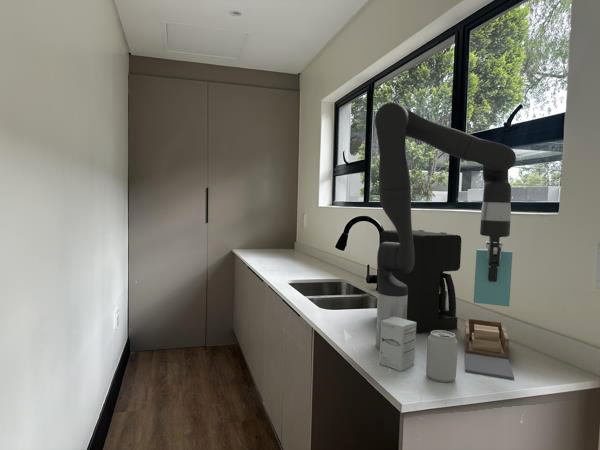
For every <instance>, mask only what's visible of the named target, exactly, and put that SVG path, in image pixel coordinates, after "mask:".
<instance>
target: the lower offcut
mask: <svg viewBox="0 0 600 450" xmlns="http://www.w3.org/2000/svg"><path fill="white" fill-rule="evenodd" d="M500 348H501V342H500V338H499V342H493V341H486V340H479V339H474V333H472V349H478V350H485V351H492V352H499V353H500Z"/></svg>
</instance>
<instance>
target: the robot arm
mask: <svg viewBox="0 0 600 450" xmlns="http://www.w3.org/2000/svg"><path fill="white" fill-rule="evenodd" d="M374 125H375V130H376V136H377V142H378V143H377V145H378V151H379V152H378V153H379V161H378V164H379V165H378V166H379V167H378V192H379V204H380V206H381V208H382V209H383V212H384V213H385V214H386V216H387V217H388V219H389V220H390V222H391V223H392V225H393V226H394V228H395V230H397V233H398V236H399V241H400V243H394V242H383V243H381V242H380V245H379V247H378V250H377V257H376V261H377V262H376V263H377V264H376V265H377V267H376V268H377V270H376V271H377V275H376V276H377V278H376V279H377V282H376V284H377V302H376V303H377V306H376V307H377V308H376V330H375V331H376V332H375V334H376V335H375V347H376V348H377V349H378V350H379V351H380V337H381V321H382V320H385V319H388V318H391V317H398V318H402V319H406V320H407V300H408V286H407V285H406V284H404V283H402V282H401V281H399V280H397V279H396V278H395V277H394V276H393V275H392V272H398V273H410V272H411V271H412V270H413V267H414V262H415V253H414V243H413V234H412V230H413V228H412V227H413V226H412V225H413V224H412V185H411V176H410V170H409V169H410V168H409V165H408V160H407V159H408V158H407V155H406V152H407V151H406V141H407V140H406V138H407V137H408V138H412V139H415V140H418V141H420V142H423V143H425V144H427V145H429V146H430V147H433V148H435V149H436V150H438V151H441V152H443V153H445V154H447V155H449V156H452V157H455V158H458V159H460V160H462V161H466V162H473V163H477V164H479V165H482V177H483V192H482V205H481V209H480V210H481V211H480V225H479V226H480V228H479V229H480V230H479V233H480V236H484V237H489V238H488V239H489V240H488V241H486V242H485V243H486V244H485V248H486V250H487V259H488V260H489V264H488V266H489V273H488V281H490V282H496V281H497V272H498V267H499V265H500V264H499V260H500V259H501V250H502V249H503V243H502V242H500V240H501V239H500V238H507V237H510V236H511V235H510V234H511V232H510V231H511V216H512V207H511V203H512V201H511V199H512V186H511V183H510V182H509V170H510V169H512V167H513V166H515V163H516V161H517V156H516V152H515V151H514V150H513V149H512V148H511V147H510V146H508V145H505V144H503V143H500V142H496V141H493V140H488V139H483V138H479V137H477V136H474V135H472V134H470V133H466V132H464V131H462V130H459V129H456V128H452V127H450V126H446V125H444V124H440V123H437V122H434V121H431V120H429V119H426V118H425V117H422V116H421V115H418V114H416V113H415V112H414V111H412V110H410V109H408V108H406V107H405V106H404V105H403V104H401V103H400V102H395V101H394V102H388V103H385V104H383V105H381V106H380V107H379V108H378V110H377V111H376V113H375V116H374ZM489 250H490V255H489ZM502 251H503V250H502ZM492 259H493V260H496V262H491V260H492Z"/></svg>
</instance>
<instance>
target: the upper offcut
mask: <svg viewBox="0 0 600 450" xmlns="http://www.w3.org/2000/svg"><path fill="white" fill-rule="evenodd" d="M474 339H479V340H486V341H493V342H499V330H498V327H491V326H483V325H475V324H474Z"/></svg>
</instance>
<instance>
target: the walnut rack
mask: <svg viewBox="0 0 600 450" xmlns="http://www.w3.org/2000/svg"><path fill="white" fill-rule="evenodd" d="M464 323H465V325H464V327H465V328H464V354H465V353H468V354H475V355H482V356H489V357H496V358H503V359H509V348H510V347H509V346H510V338H509V335H508V332H507V330H506V326H505V325H504V324H502V321H495V320H489V319H488V320H486V319H479V318H471V317H470V318H468V320H465V322H464ZM474 324H475V325H483V326H491V327H498V330H499V338H500V342H501V348H500V353H499V352H492V351H485V350H478V349H472V333H474Z"/></svg>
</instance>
